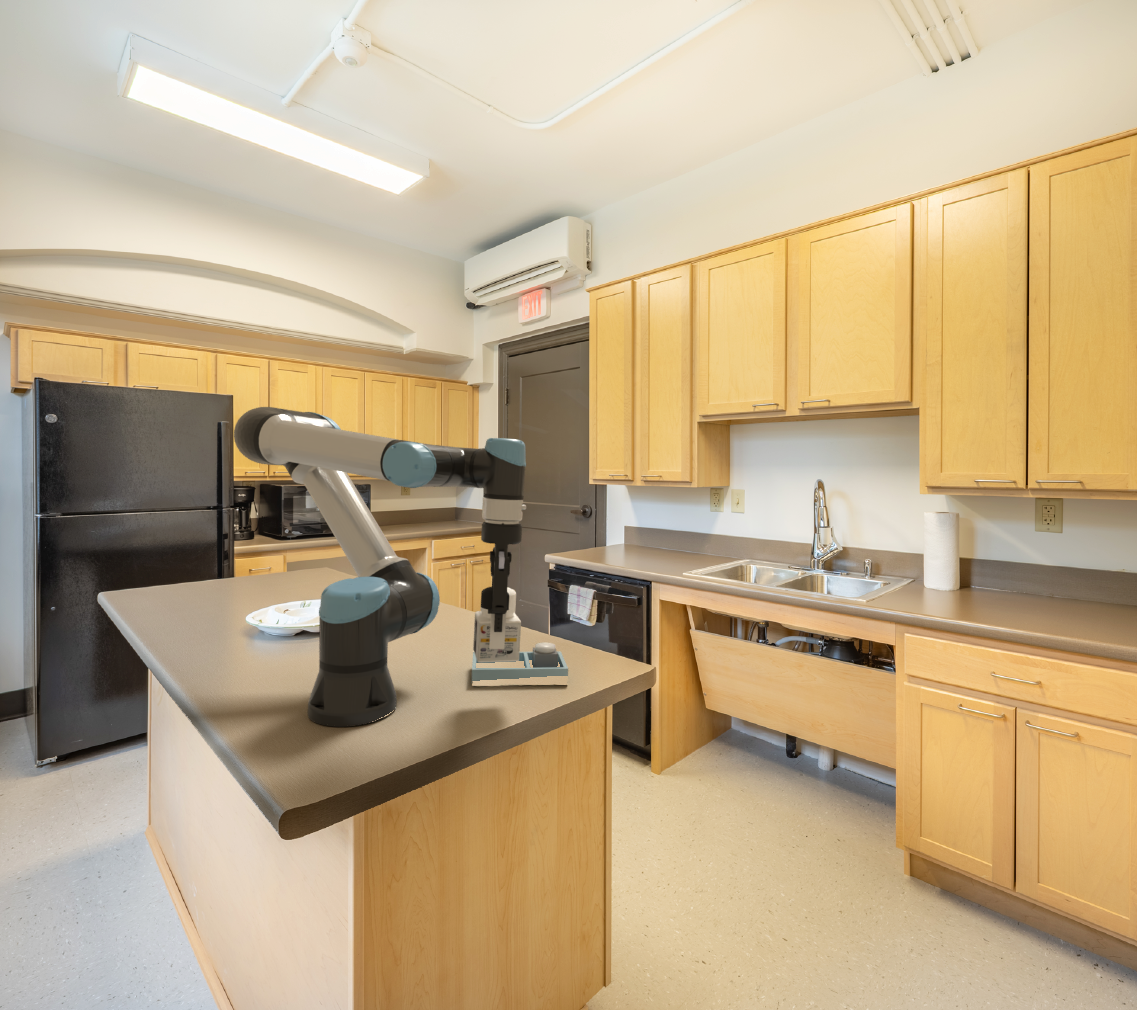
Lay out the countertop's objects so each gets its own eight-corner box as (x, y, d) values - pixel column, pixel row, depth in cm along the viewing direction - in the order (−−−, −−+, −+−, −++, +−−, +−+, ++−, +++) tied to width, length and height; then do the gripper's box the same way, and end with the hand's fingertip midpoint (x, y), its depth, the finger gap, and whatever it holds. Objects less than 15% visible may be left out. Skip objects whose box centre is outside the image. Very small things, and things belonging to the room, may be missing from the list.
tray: (471, 686, 122) (472, 654, 122) (472, 667, 134) (473, 638, 134) (567, 685, 125) (568, 653, 124) (560, 666, 137) (561, 637, 136)
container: (477, 663, 108) (480, 592, 107) (472, 650, 115) (476, 583, 115) (519, 662, 110) (523, 592, 109) (512, 649, 117) (515, 584, 117)
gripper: (526, 528, 101) (519, 659, 103) (519, 517, 122) (513, 626, 123) (481, 526, 100) (475, 658, 102) (482, 516, 121) (476, 626, 122)
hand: (496, 641), depth 112 cm, fingers closed on container, 8 cm apart
